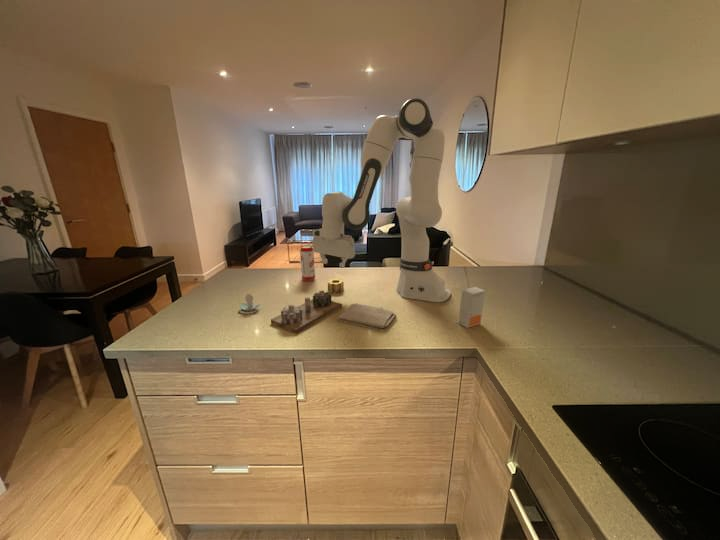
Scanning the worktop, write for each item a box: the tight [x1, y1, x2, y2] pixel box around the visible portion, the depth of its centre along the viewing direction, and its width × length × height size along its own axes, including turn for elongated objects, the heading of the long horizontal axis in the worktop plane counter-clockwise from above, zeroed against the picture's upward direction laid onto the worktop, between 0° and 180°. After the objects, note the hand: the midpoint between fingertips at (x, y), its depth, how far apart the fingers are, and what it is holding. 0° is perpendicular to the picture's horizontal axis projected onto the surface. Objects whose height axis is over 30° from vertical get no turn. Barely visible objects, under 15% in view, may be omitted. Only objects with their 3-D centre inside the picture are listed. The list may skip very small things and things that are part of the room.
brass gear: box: [327, 278, 345, 294], centre depth 125 cm, size 7×7×4 cm
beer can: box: [299, 245, 316, 282], centre depth 137 cm, size 6×6×16 cm
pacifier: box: [238, 293, 261, 315], centre depth 105 cm, size 7×6×6 cm
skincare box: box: [457, 286, 486, 329], centre depth 94 cm, size 6×4×12 cm
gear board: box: [270, 290, 343, 335], centre depth 102 cm, size 12×23×6 cm, turn 146°
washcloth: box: [337, 303, 397, 332], centre depth 99 cm, size 12×18×3 cm, turn 66°
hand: (333, 265), depth 122 cm, fingers open, 8 cm apart
